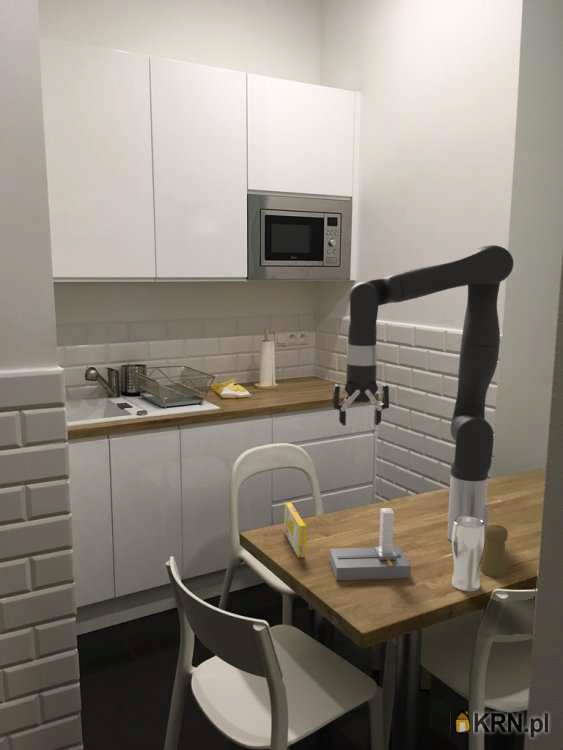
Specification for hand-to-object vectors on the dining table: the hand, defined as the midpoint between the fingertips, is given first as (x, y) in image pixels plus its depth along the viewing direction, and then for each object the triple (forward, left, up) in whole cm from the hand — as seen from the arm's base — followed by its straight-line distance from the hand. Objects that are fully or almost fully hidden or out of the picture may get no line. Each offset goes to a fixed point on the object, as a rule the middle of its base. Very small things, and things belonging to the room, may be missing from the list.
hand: (360, 424), depth 164 cm
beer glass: (-19, +28, -30) cm, 45 cm away
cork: (-28, +22, -30) cm, 47 cm away
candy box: (+17, +4, -30) cm, 35 cm away
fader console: (+1, +19, -30) cm, 36 cm away
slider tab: (-3, +19, -27) cm, 33 cm away
